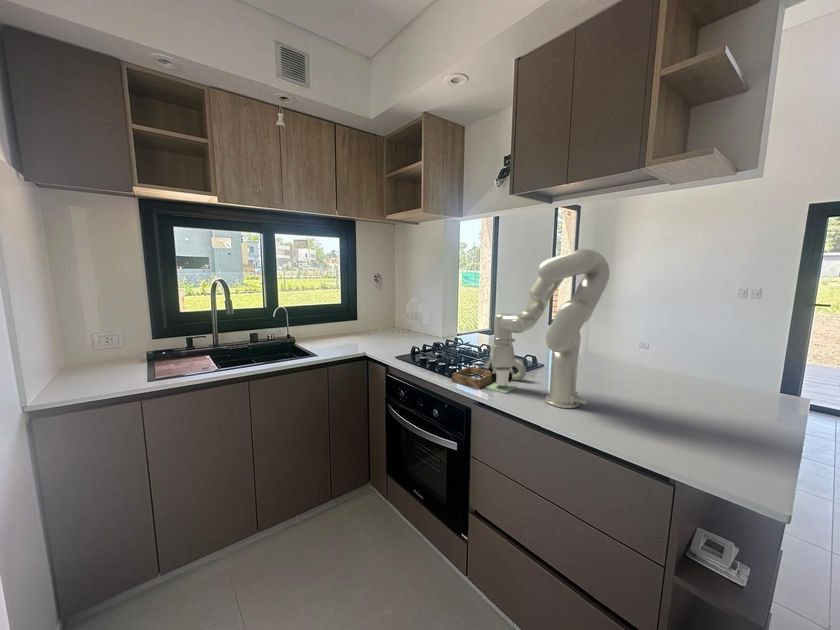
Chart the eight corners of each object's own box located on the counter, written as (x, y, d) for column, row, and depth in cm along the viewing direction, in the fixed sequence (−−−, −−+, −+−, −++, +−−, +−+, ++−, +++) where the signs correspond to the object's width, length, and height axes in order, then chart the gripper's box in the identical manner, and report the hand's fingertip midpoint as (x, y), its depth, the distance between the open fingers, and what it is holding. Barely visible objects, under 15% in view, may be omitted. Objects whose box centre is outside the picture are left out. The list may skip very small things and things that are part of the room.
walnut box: (495, 380, 160) (495, 372, 159) (479, 389, 149) (479, 380, 148) (468, 374, 169) (469, 366, 169) (452, 381, 158) (452, 373, 158)
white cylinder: (497, 379, 154) (498, 365, 153) (511, 383, 150) (512, 367, 149) (490, 383, 149) (491, 368, 148) (505, 387, 145) (505, 371, 144)
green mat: (516, 387, 151) (516, 386, 151) (506, 393, 143) (506, 392, 143) (496, 382, 157) (496, 381, 157) (485, 388, 150) (485, 387, 149)
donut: (526, 380, 159) (527, 360, 158) (524, 383, 156) (525, 362, 155) (505, 377, 165) (506, 357, 163) (503, 379, 162) (503, 359, 160)
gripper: (518, 339, 151) (517, 378, 154) (480, 340, 150) (480, 379, 153) (525, 343, 144) (523, 383, 146) (485, 344, 143) (484, 384, 145)
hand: (501, 381), depth 149 cm, fingers closed on white cylinder, 6 cm apart
